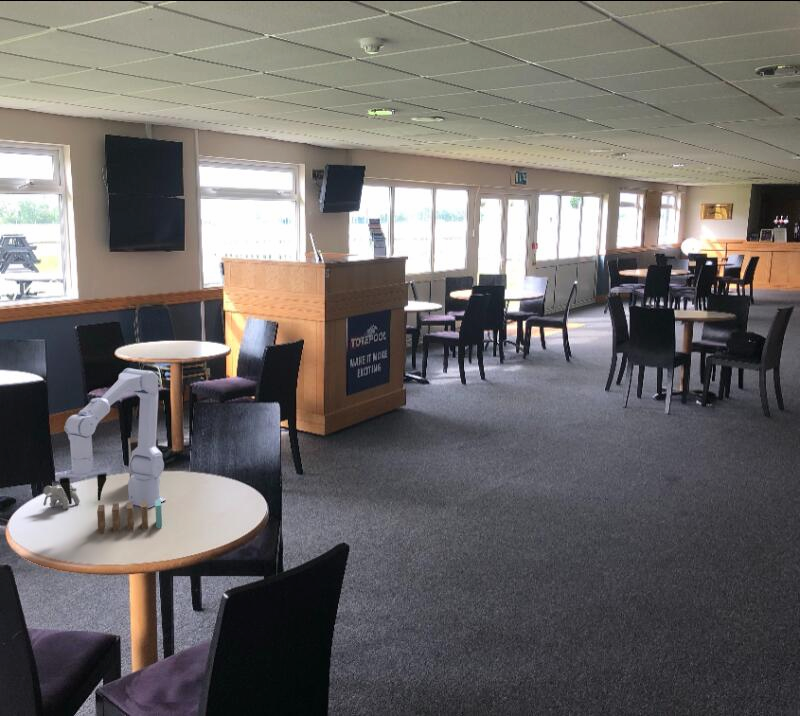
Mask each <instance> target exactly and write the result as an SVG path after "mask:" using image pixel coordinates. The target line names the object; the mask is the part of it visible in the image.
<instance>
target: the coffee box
mask: <svg viewBox="0 0 800 716" xmlns="http://www.w3.org/2000/svg"><path fill="white" fill-rule="evenodd" d="M127 442H128V463H129V462H130V459H131V455H132V451H133V450H134V449H136V448H137V447H138V436H135V437H128V438H127ZM156 447H157V448H158V449H159V439H158V438H157V437H156ZM128 470H129V471H128V472H129V478H130V477H131V476H132V475H133V473H132V472H131V471H130V469H128ZM160 482H161V481H159V485H160Z"/></svg>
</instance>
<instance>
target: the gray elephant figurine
mask: <svg viewBox="0 0 800 716" xmlns="http://www.w3.org/2000/svg"><path fill="white" fill-rule="evenodd" d="M77 490H78V489H77V488H76V487H75V486H73V485H72V484H70V491H71V497H72V501H73V502H74V504H75V505H79V504H80V501H81V500H80V498H79V495H78V494H77ZM43 494H44V495H45V497H44V501H43V506H44V507H45V506H46V505H47V501H48V498H50V502H49V506H50V508H54V507H55V505H56V503H57V502H60V503H61V505H62V509H63V510H68V509H70V505H71V504H69V501H68V498H67V495H66V493H65V491H64V490H63V488H62V487H61V485H60V484H57V485H55V486H51V485H46V486H45V487H44V488H43Z"/></svg>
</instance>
